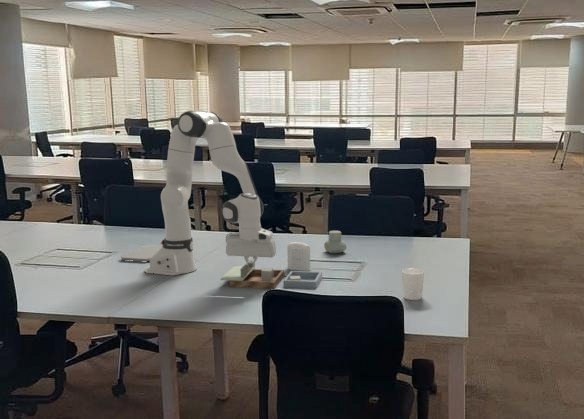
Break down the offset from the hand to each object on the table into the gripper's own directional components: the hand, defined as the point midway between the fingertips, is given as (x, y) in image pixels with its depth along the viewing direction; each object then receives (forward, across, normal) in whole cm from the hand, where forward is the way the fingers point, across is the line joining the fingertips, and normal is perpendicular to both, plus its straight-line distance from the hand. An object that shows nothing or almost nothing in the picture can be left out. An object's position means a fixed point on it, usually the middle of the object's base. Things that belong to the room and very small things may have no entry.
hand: (251, 266), depth 259 cm
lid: (+3, -6, 0) cm, 6 cm away
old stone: (+6, +19, -2) cm, 20 cm away
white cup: (+6, +65, -11) cm, 66 cm away
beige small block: (+6, +7, 0) cm, 9 cm away
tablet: (+7, -62, +37) cm, 73 cm away
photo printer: (+7, +16, +20) cm, 26 cm away
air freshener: (+6, +27, +53) cm, 60 cm away
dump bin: (+6, +21, +1) cm, 22 cm away
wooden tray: (+6, +3, 0) cm, 7 cm away
